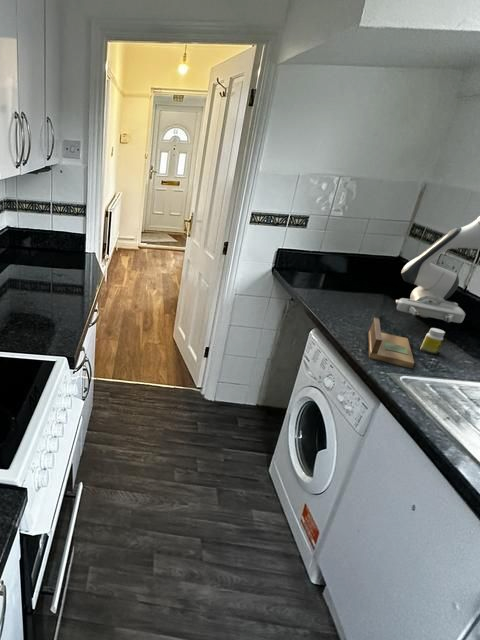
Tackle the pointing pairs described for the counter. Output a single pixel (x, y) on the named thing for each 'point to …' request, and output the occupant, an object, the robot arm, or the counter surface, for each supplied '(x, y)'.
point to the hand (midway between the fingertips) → (431, 316)
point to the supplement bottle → (432, 341)
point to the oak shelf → (389, 347)
